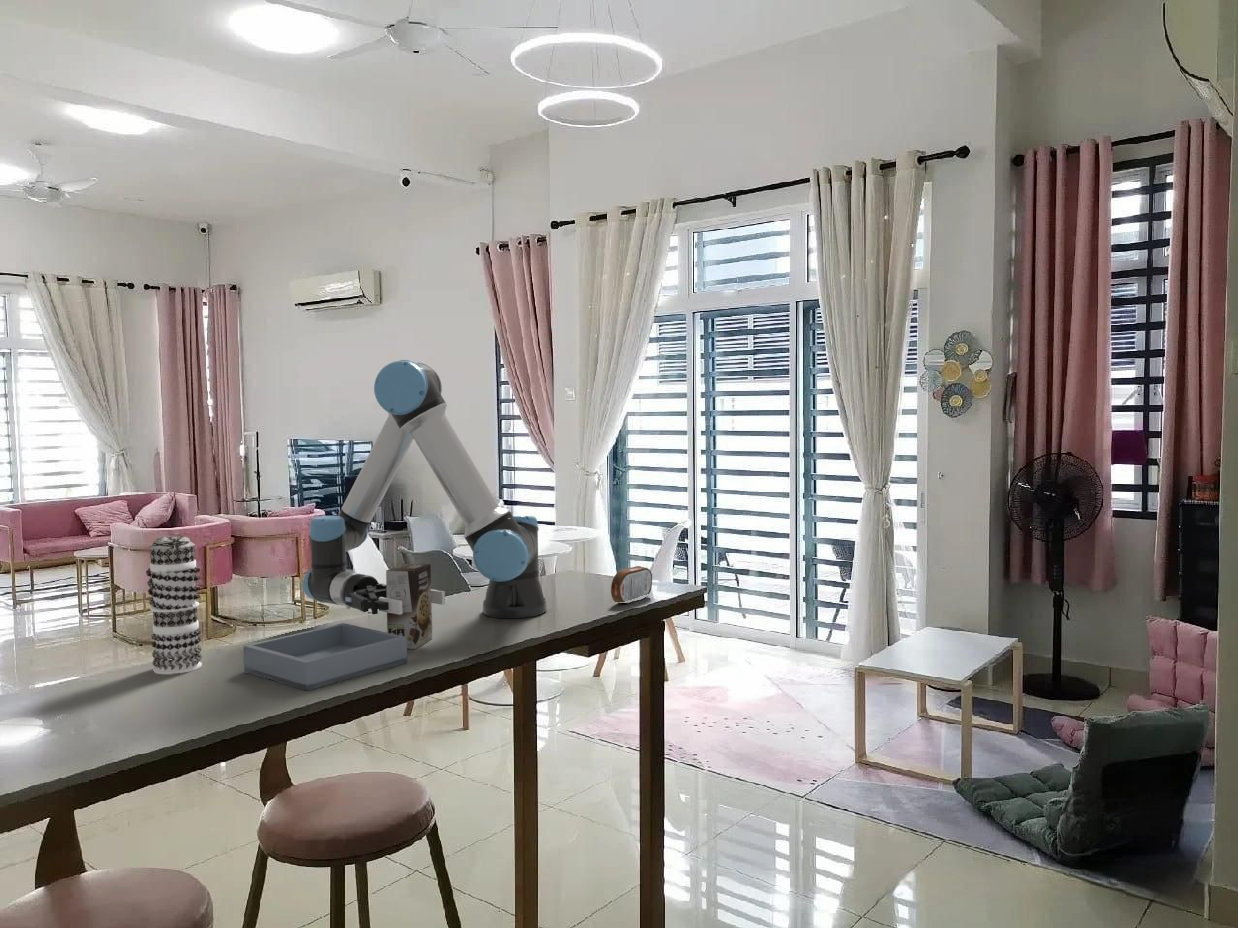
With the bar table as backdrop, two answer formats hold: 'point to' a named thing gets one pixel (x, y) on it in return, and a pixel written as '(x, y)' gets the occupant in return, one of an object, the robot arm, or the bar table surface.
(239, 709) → the bar table surface
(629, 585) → the tin
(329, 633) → the tray
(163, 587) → the decorative candle
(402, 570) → the cookie box
